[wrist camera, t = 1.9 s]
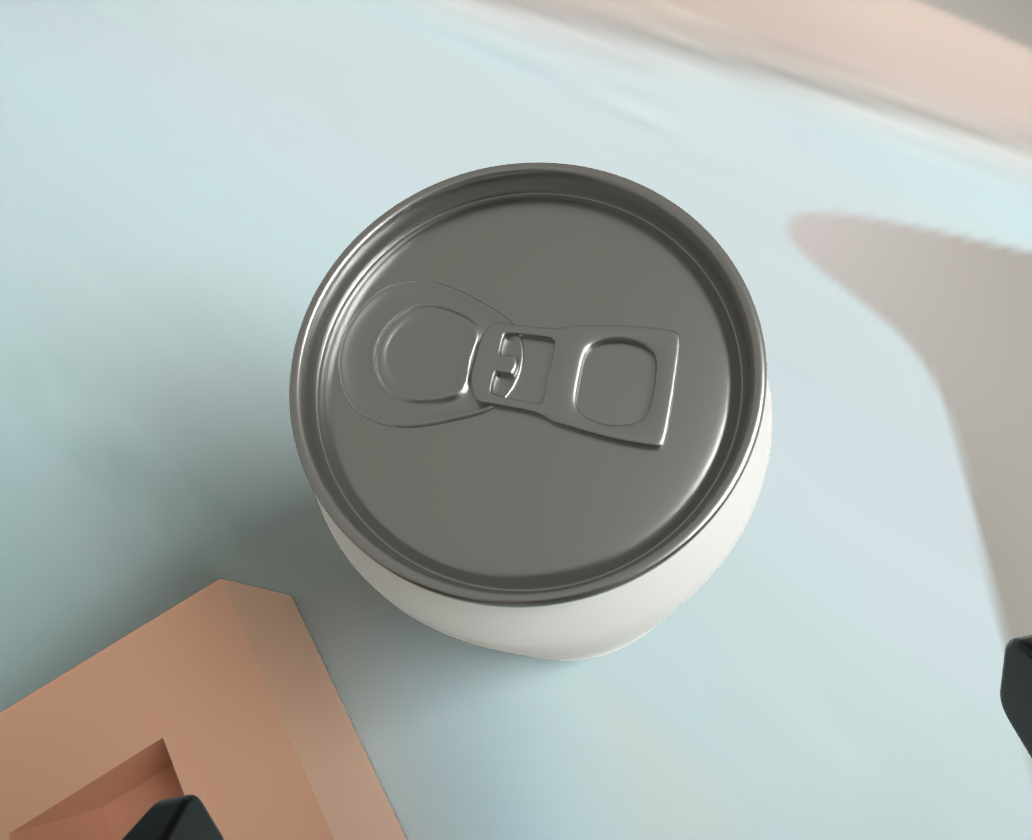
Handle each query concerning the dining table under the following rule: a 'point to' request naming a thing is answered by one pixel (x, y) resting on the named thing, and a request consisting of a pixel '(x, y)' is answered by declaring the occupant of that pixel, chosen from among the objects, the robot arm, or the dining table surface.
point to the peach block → (194, 732)
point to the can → (534, 407)
